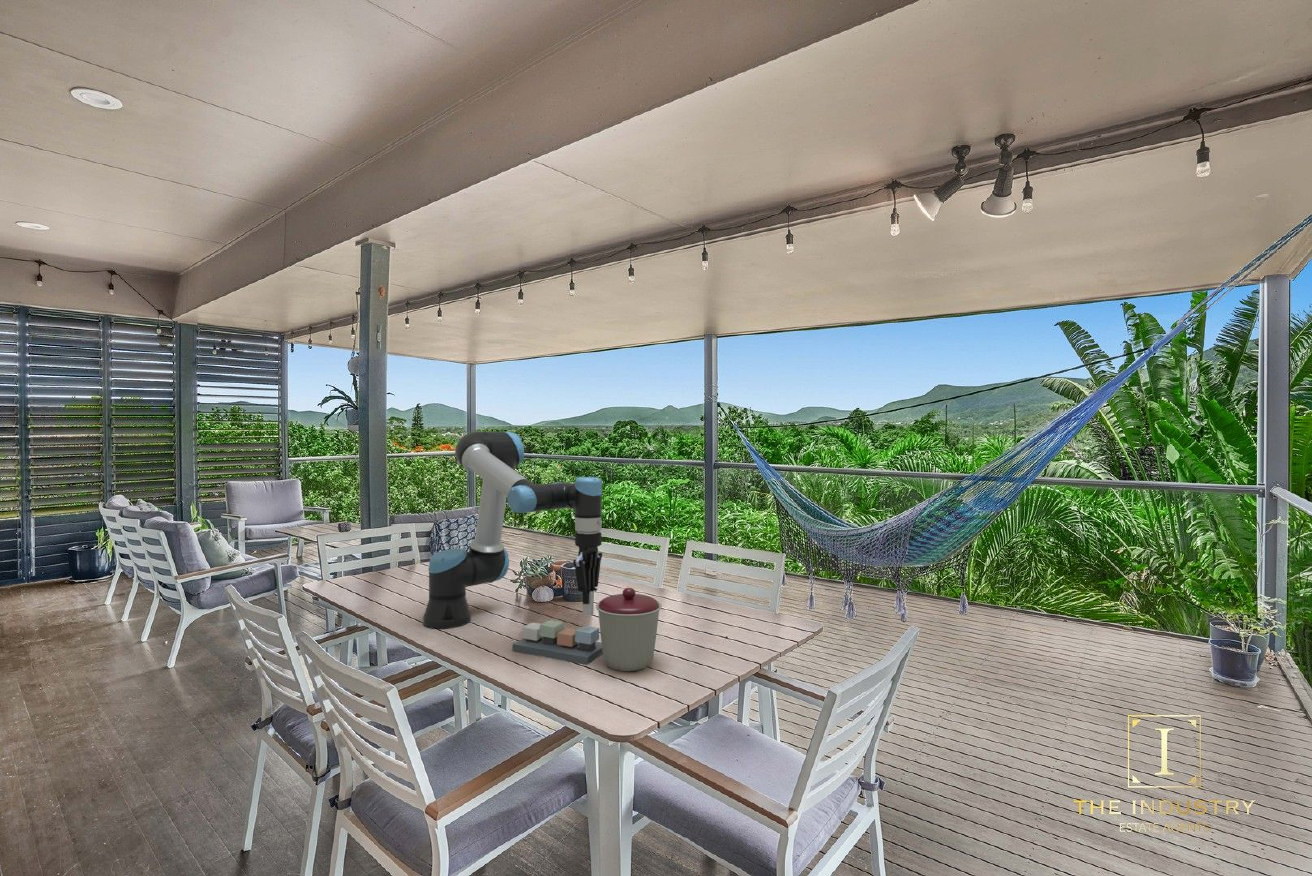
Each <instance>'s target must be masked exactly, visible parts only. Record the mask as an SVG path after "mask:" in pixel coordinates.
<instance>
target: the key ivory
mask: <svg viewBox="0 0 1312 876" xmlns="http://www.w3.org/2000/svg"><path fill="white" fill-rule="evenodd" d="M541 624H542V623H536V622H530V623H528V624H527V625H525V626H522V633H521V634H522V636H521V637H522V638H521V639H523V638H524V639H530V640H535V641H537V640H539V639H541V638H543V636H540V625H541Z"/></svg>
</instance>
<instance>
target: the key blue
mask: <svg viewBox="0 0 1312 876" xmlns="http://www.w3.org/2000/svg"><path fill="white" fill-rule="evenodd" d="M598 640H600V627H595V626H589V625H583V626H581V627H579V628H578V629H576V631H575V642H578V643H584V644H590V645H591V644H592V643H594V642H595V641H596V642H598Z"/></svg>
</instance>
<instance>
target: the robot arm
mask: <svg viewBox="0 0 1312 876" xmlns="http://www.w3.org/2000/svg"><path fill="white" fill-rule="evenodd" d="M454 453H455V454H454V455H455V456H454V457H455V458H456V461H457V462H458V465H460V466H461V467H462V468H463V469H465V470H466V472H467V471H468V472H470V473H475V474H477V475H478V476H479V477H480V478H481V479H482V485H481V492H480V500H479V507H478V513H477V514H478V515H477V523H476V532H475V538H474V540H473V541H471V542H470V544H469V550H468V551H467V550H466V549H463V548H451V549H450V548H448V549H444V550H441V551H438V552H436V553H434V554H433V555H432V556H430V558H429V563H428V602H427V604H426V608H425V612H424V614H423V616H422V617H423V619H422V621H423V622H422V624H423V626H424V627H427V628H431V629H450V628H456V627H460V626H464V625H466V624H468V623H469V622H471V620H472V613H471V610H470V607H469V603H468V600H467V596H466V595H467V588H469V587H472V586H479V585H485V584H491V583H493V582H497V581H500V580H502V579H503V578H504V577H505V576H506V575H507V573H508V571H509V566H510V558H509V553H508V551H507V549H506V548H505V545H504V544H503V542H501V541H502V533H503V525H504V518H505V511H506V504H508V506H509V509H510V510H511V512H513V513H515V514H528V513H533V512H541V511H542V512H543V511H551V510H552V511H553V510H561V509H571V510H574V511H575V513H574V516H575V518H574V519H575V520H574V531H575V534H574V544H575V547H578V554H577V555H578V557H577V558H576V559H573V561H572V562H573V566H574V567H575V568H574V569H575V577H576V586H577V591H578V592H579V593H582V615H584V616H593V615H594V609H595V608H594V599H595V598H594V595H595V594H594V593H595V592H597V591H598V586H599V580H600V570H601V562H602V557H603V552H599V549H598V547H600V546H601V545H602V544H603V543H602V537H603V536H602V533H601V531H602V524H603V521H602V514H603V513H602V510H603V509H602V507H603V500H602V499H603V497H602V496H603V491H602V490H603V488H602V487H603V486H602V480H601V479H600V477H589V476H586V477H585V476H584V477H577V478H575V482H574V483H573V482H565V481H556V482H552V483H543V484H542V483H541V484H534V483H533V482H532V481H530V480H528V478H525V477H524V475H522V474H520V473H519V472H517V471H516V467H517V466H520V465H521V464H522V463H523V461H524V458H525V447H524V444H523V442H522V439H521V437H520V436H519V435H518V434H516V433H515V432H512V431H503V430H502V431H472V432H468V433H466V434H464V435H463V436H462V437H461V438H460V439H459V440H458V441H457V443H456V446H455V451H454Z"/></svg>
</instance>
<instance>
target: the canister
mask: <svg viewBox="0 0 1312 876" xmlns="http://www.w3.org/2000/svg"><path fill="white" fill-rule="evenodd" d="M662 607H663V606H662V603H661V602H660V601H658V600H657V599H655V598H654V597H652V596H650V595H645V594H639V593H636V590H635V589H634V588H633V587H626V588H624V589H623V591H622V593H619V594H617V593H616V594H612V595H609V596H606V597H604V598H602V599H601V600H599V601H598V602H597V603H596V605H595V608H596V610H597V611H598V624H599V635H600V642H601V643H602V651H603V654H602V657H603V660H604V663H605V664H606V665H607V667H609V668H611V669H613V670H616V671H620V672H635V671H640V670H643V669H645V668H647V667H648V666H650V664H651V663H652V661H653V658H654V655H655V648H656V640H657V634H658V626H659V625H658V624H659V616H660V614H659V613H660V610H662Z"/></svg>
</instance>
